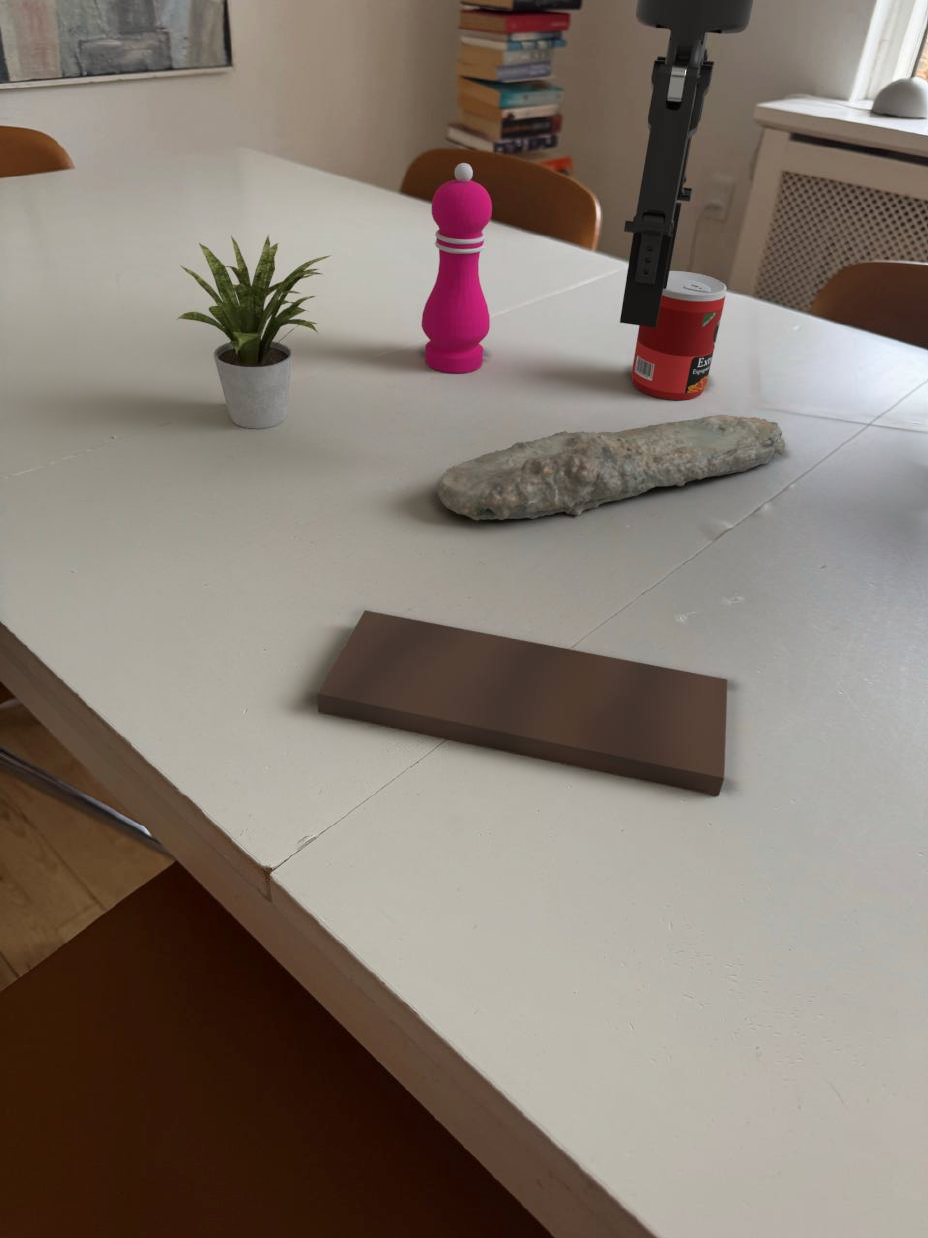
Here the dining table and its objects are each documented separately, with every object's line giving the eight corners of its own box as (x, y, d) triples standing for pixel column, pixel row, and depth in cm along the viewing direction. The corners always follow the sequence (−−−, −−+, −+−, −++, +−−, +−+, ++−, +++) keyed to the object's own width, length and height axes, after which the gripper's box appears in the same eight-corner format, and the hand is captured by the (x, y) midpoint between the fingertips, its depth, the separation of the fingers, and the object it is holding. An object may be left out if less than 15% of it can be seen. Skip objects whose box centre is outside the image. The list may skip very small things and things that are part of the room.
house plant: (343, 455, 86) (340, 267, 76) (182, 458, 83) (158, 266, 74) (334, 390, 97) (330, 220, 87) (192, 392, 95) (172, 217, 85)
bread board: (722, 697, 62) (727, 679, 61) (719, 796, 55) (724, 778, 54) (364, 627, 66) (364, 609, 65) (317, 712, 58) (316, 693, 57)
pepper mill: (473, 380, 101) (487, 174, 89) (410, 367, 103) (415, 164, 91) (495, 357, 107) (511, 161, 95) (435, 345, 109) (442, 151, 97)
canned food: (700, 406, 99) (723, 299, 92) (623, 392, 101) (640, 286, 94) (709, 380, 105) (731, 277, 98) (636, 367, 107) (653, 265, 100)
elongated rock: (804, 484, 89) (731, 444, 96) (820, 429, 86) (744, 393, 93) (472, 543, 74) (415, 491, 81) (478, 479, 71) (419, 431, 78)
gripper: (761, -34, 53) (683, 358, 67) (760, -42, 71) (699, 271, 84) (626, -44, 55) (576, 343, 68) (658, -50, 72) (613, 260, 85)
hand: (644, 303), depth 76 cm, fingers open, 9 cm apart
